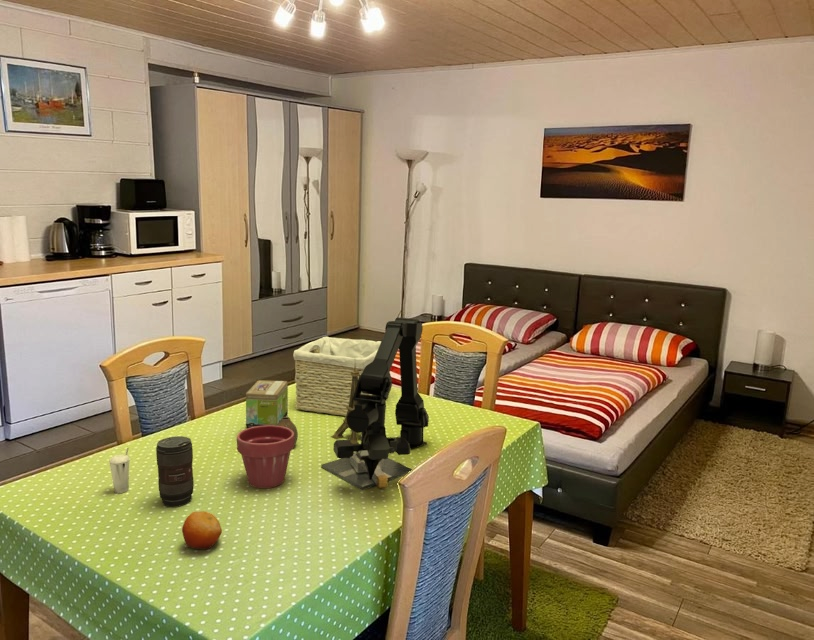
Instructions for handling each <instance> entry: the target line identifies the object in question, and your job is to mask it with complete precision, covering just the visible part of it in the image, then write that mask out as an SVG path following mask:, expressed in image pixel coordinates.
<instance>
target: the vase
mask: <svg viewBox="0 0 814 640" xmlns="http://www.w3.org/2000/svg"><path fill="white" fill-rule="evenodd" d="M277 426H283V427H286V428H289V429H291V430H292V431H293V432H294V446H295V445H296V444H297V441H298V435H299V433H298V429H297V427H296V425H295V424H294V423H293V421H292V420H291V418H290V417H289V416H288V417H282V418H281V420H280V422H279V423H278V425H277Z"/></svg>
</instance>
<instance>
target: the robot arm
mask: <svg viewBox="0 0 814 640" xmlns="http://www.w3.org/2000/svg"><path fill="white" fill-rule="evenodd" d="M423 327H424V326H423V323H422V321H421V320H419V319H418V318H409V317H395V319H394V320H388V322H386V324H385V328H384V329H385V332H384V334H383V337H382V339H381V340H380V341H381V343H380V346H379V348H378V351H377V353H376V356H375V358H374V360H373V362H371V363H370V364H368V365H367V366H366V367H365V368H364V370H363V372H362V374H361V375H360V376H359V379H358V382H357V386H356V390H355V393H354V397H353V401H359V403H356V404H355V409H353V410H352V411H350V412H349V414H348V416H347V424H348V426H349V428H348V429H350V431H351V430H353V431H354V432H357V433H356V434H358V433H360V434H361V435H360V439H359V440H360V443H359V444H352V443H351V442H350V440H349V439H335V440H334V442H333V450H332V451H333V452H334V454H335V457H336V458H337V459H341V458H351V457H352V456H353V455H354V452H357V454H358V456H359V457H360V459H361V460H364V463H365V466H366V469H367V472H368V477H369V480H372V476H373V474H374V472H375V469H376V467H377V465H378V463H379V462H380V461H381V460H382V459H387V458H389V455H390V454H394V453H396V454H397V455H398V456H404V455H406V456H407V455H410V454H411V450H414V449H416V448H419V447H422V446H425V445H427V443H428V442H427V441H424V429H425V428H427V427H429V421H430V419H429V417H430V415H429V413H428V411H427V410H426V408H425V401H424V399H423V398H422V396H421V395H420V394H419V391H418V369H417V368H418V366H417V345H418V343H419V342H420V340H421V338H422V334H423V329H424V328H423ZM398 351H399V353H398ZM397 354H399V371H400V388H401V389H400V391H401V396H400V398H399V399H398V401H397V403H396V404H395V410H394V412H395V414H394V416H395V421H396V425H397V426H400V427H401V428H400V431H399V436H397V437H396V436H395V437H393V436H392V437H389V436H387V433H386V432H387V431H386V427H385V426H386V425H385V423H386V410H387V409H386V408H387V402H386V401H387V400H388V398H389V395H390V392H391V389H392V386H393V383H392V380H393V378H392V376H391V369H392V366H393V364H394V362H395V358H396V355H397ZM361 392H362V393H364V394H372V395H364V394H361Z"/></svg>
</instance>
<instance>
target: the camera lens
mask: <svg viewBox="0 0 814 640" xmlns="http://www.w3.org/2000/svg"><path fill="white" fill-rule="evenodd" d="M155 451H156V455H155V456H156V466H157V472H158V481H157V482H158V493H159V497H160V499H161V503H162V505H164V506H165V507H171V508H174V507H175V508H176V507H180V506H184V505H187V504H188V503H189V502H191V500H192V495H193V493H194V486H195V482H194V472H193V471H194V469H193V468H194V467H193V459H194V454H193V453H194V452H193V451H194V450H193V443H192V439H191V438H189V437H187V436H177V435H176V436H170V437H166V438H163V439H160V440H158V441H157V443H156V447H155Z"/></svg>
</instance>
